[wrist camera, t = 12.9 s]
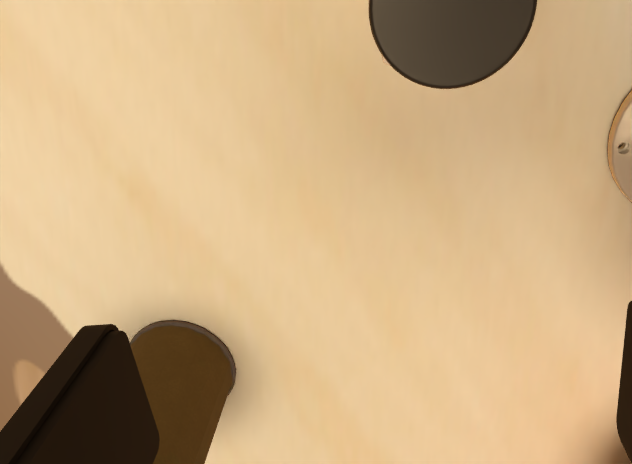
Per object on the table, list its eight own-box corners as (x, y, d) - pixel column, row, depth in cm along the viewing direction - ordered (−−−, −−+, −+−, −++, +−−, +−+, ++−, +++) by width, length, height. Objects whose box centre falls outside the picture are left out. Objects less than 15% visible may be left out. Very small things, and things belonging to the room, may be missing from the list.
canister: (173, 299, 53) (65, 482, 35) (259, 370, 55) (200, 576, 37) (103, 363, 57) (-25, 557, 39) (186, 427, 59) (101, 637, 41)
